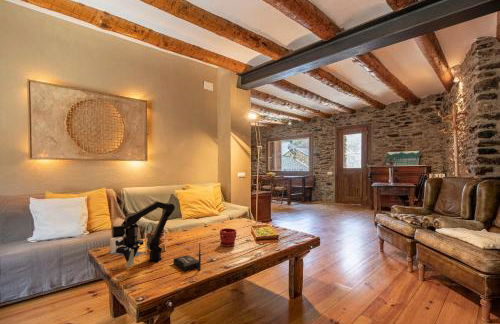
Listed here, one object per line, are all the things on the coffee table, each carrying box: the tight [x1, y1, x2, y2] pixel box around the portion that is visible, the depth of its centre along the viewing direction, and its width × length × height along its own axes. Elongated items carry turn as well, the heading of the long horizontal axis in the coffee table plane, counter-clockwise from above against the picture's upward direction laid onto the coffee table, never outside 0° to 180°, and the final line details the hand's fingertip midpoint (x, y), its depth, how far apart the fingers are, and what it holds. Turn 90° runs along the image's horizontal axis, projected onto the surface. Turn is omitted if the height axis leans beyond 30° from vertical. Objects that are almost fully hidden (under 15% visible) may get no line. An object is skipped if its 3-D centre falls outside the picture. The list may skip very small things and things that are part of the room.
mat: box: [105, 251, 145, 258], centre depth 180 cm, size 25×9×1 cm, turn 78°
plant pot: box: [219, 228, 237, 247], centre depth 200 cm, size 13×13×12 cm
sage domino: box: [126, 249, 135, 269], centre depth 158 cm, size 1×5×10 cm, turn 168°
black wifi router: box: [173, 242, 202, 273], centre depth 158 cm, size 20×14×17 cm
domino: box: [116, 237, 124, 254], centre depth 181 cm, size 1×5×10 cm, turn 168°
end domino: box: [109, 237, 118, 253], centre depth 182 cm, size 1×5×10 cm, turn 168°
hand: (130, 259), depth 158 cm, fingers closed on sage domino, 5 cm apart
